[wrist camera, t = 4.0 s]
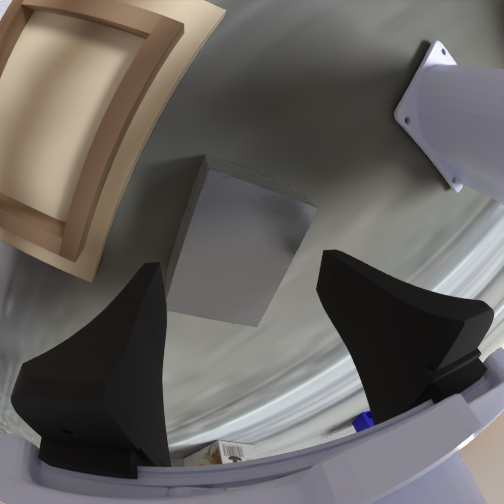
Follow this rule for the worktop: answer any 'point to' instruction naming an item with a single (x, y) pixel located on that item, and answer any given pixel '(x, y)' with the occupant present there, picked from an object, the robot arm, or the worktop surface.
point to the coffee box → (221, 454)
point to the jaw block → (234, 243)
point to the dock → (84, 113)
